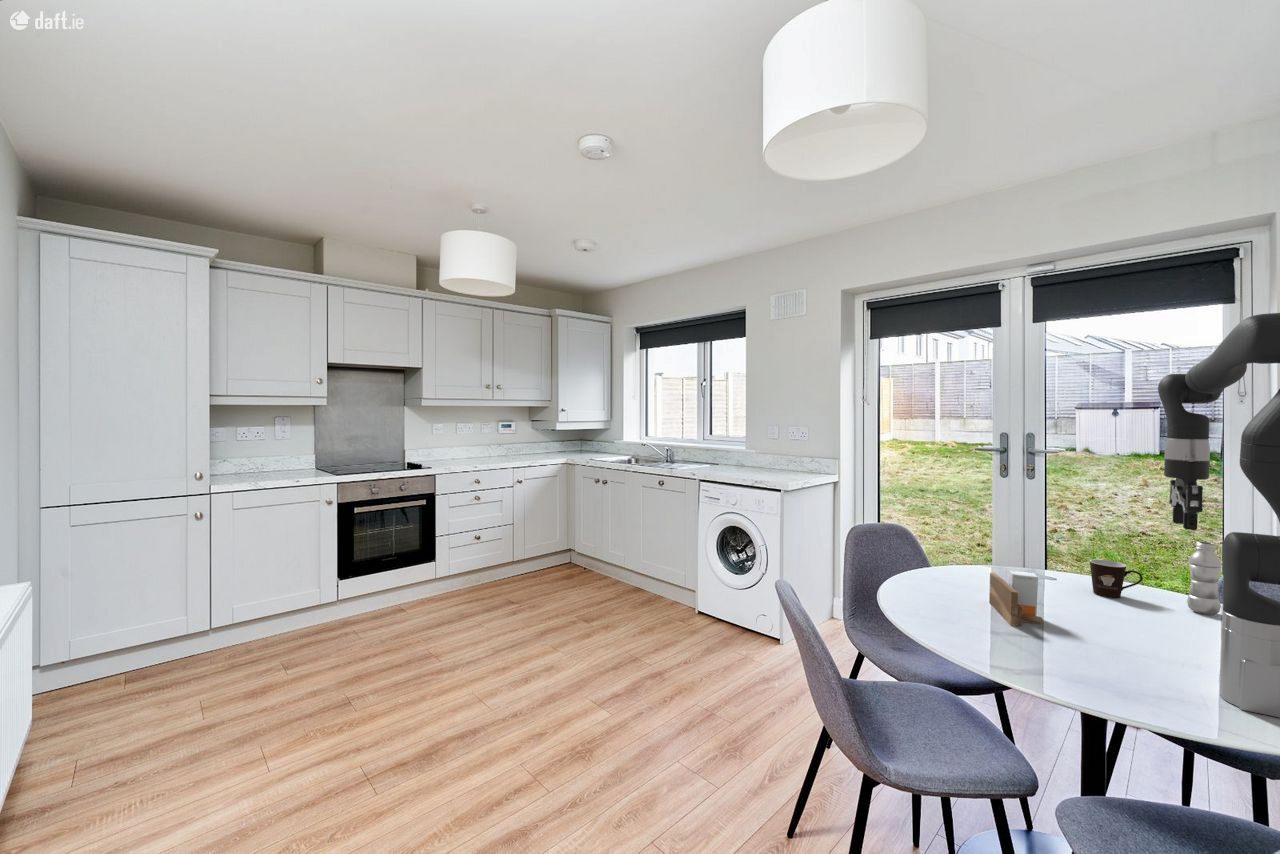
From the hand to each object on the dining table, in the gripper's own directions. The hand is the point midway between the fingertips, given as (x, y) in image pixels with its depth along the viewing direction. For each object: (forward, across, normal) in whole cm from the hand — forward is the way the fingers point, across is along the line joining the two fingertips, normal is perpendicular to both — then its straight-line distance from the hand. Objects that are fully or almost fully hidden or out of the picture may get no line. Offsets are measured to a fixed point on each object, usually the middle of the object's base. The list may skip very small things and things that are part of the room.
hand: (1184, 526), depth 128 cm
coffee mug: (+30, -41, -6) cm, 51 cm away
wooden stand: (+30, -6, -32) cm, 44 cm away
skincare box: (+30, -6, -30) cm, 43 cm away
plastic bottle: (+30, -37, +13) cm, 49 cm away
